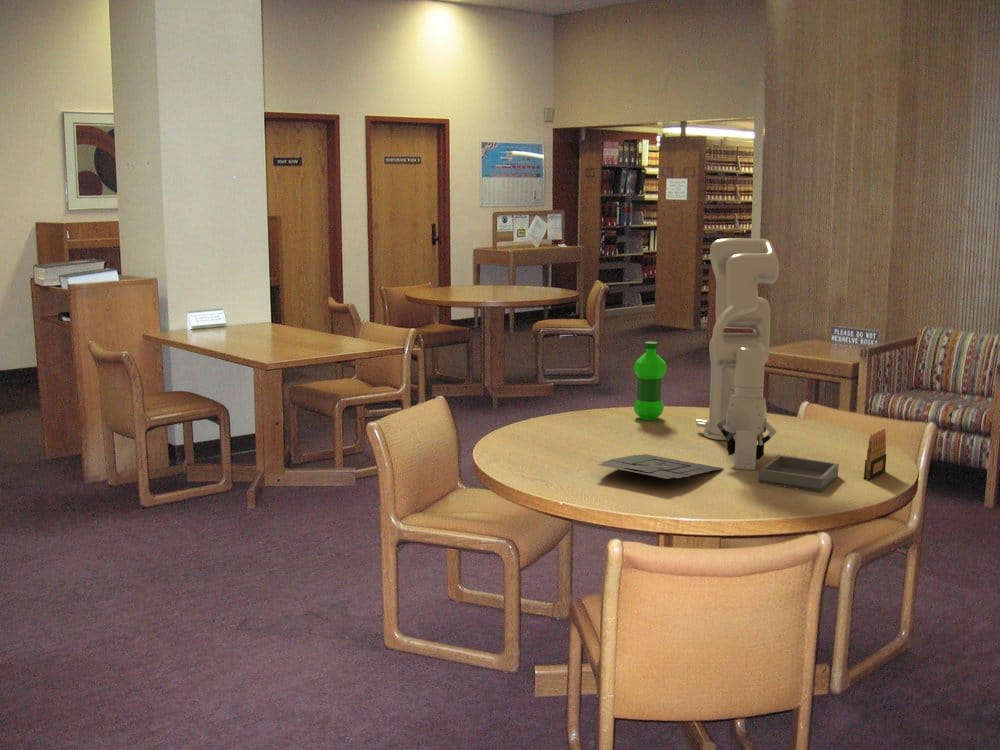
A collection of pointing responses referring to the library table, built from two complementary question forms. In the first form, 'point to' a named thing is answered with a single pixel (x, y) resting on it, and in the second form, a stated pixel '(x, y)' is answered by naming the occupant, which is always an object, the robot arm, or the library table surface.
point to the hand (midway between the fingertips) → (745, 455)
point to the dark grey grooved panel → (658, 466)
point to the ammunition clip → (876, 455)
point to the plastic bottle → (649, 383)
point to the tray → (798, 473)
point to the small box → (745, 450)
